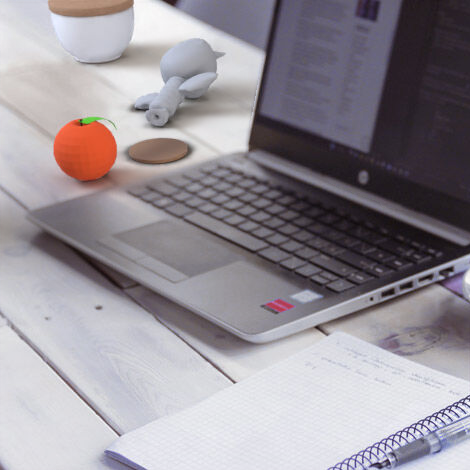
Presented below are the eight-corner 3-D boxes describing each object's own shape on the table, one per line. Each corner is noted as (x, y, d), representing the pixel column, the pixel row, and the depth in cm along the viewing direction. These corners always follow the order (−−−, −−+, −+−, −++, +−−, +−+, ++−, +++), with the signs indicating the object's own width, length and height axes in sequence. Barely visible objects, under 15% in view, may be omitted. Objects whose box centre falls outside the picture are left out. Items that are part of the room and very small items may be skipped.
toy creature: (100, 101, 121) (157, 34, 137) (128, 149, 125) (180, 78, 141) (184, 77, 117) (233, 10, 132) (210, 127, 120) (255, 57, 136)
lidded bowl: (146, 63, 145) (139, -10, 140) (62, 73, 141) (50, -2, 136) (131, 41, 156) (123, -28, 150) (51, 49, 151) (41, -21, 146)
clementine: (102, 157, 113) (95, 101, 110) (140, 173, 109) (133, 114, 106) (45, 179, 108) (35, 120, 104) (83, 196, 104) (74, 135, 100)
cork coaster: (120, 161, 112) (120, 158, 112) (141, 139, 118) (140, 136, 118) (177, 165, 111) (177, 162, 111) (195, 142, 117) (195, 139, 117)
